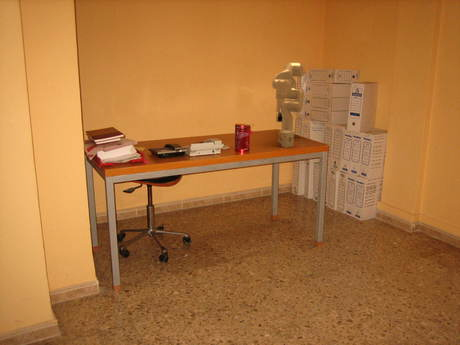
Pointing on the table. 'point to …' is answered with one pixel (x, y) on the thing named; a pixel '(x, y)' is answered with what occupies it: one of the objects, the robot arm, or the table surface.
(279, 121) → the sage block
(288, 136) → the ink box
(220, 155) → the table surface
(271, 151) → the table surface
